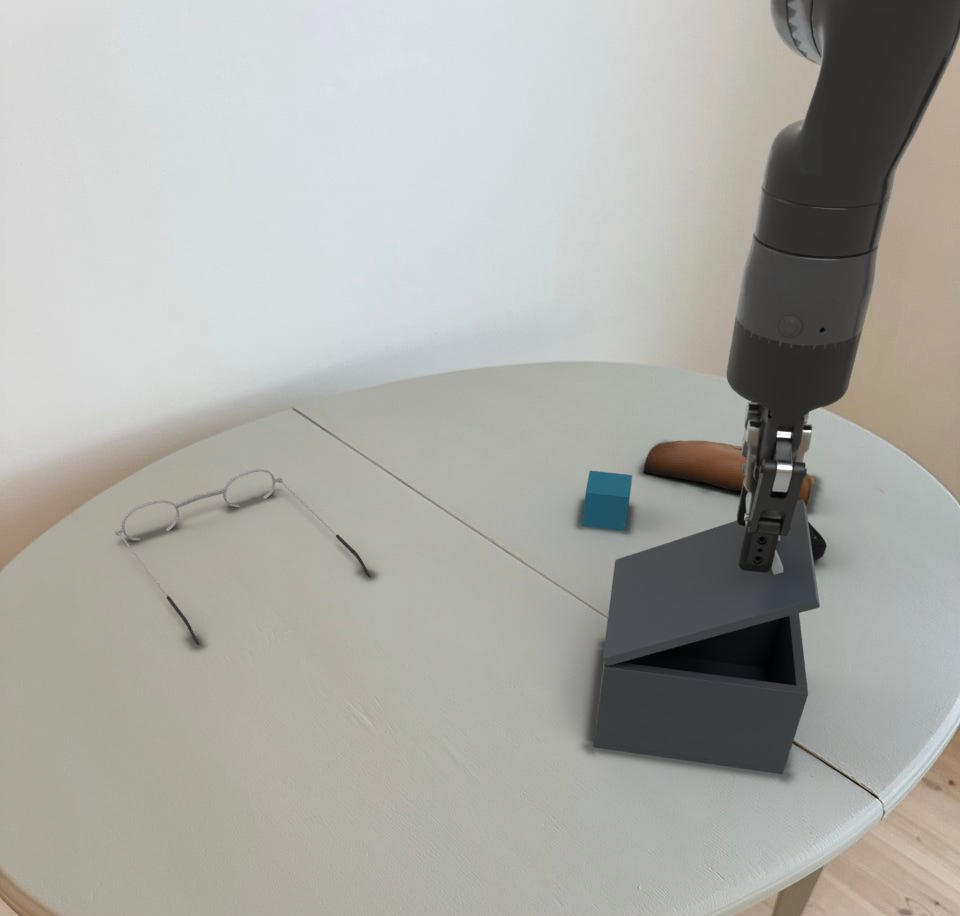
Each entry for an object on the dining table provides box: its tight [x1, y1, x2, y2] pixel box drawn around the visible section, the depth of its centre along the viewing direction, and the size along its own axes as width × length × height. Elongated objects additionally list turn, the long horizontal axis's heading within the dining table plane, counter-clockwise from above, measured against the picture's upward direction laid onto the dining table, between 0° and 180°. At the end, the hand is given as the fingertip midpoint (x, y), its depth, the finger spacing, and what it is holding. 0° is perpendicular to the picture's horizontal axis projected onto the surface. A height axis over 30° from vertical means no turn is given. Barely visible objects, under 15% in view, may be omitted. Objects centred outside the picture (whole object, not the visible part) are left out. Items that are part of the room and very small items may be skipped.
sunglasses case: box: [643, 439, 816, 510], centre depth 109 cm, size 18×7×7 cm
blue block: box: [581, 470, 633, 532], centre depth 102 cm, size 4×4×4 cm
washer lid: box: [602, 492, 821, 666], centre depth 72 cm, size 15×13×5 cm
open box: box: [592, 613, 809, 775], centre depth 79 cm, size 15×13×9 cm
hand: (752, 544), depth 71 cm, fingers closed on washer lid, 5 cm apart
